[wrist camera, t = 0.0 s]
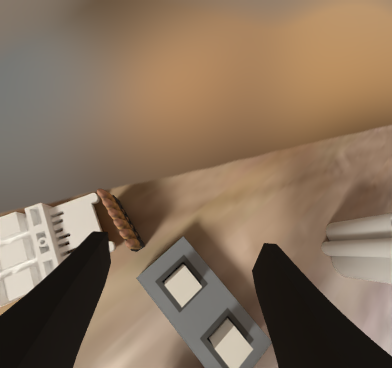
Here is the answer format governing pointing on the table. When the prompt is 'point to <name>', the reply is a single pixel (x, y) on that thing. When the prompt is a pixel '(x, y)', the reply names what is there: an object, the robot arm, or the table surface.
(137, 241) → the ammunition clip
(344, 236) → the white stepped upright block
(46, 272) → the organizer
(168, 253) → the block
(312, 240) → the table surface
